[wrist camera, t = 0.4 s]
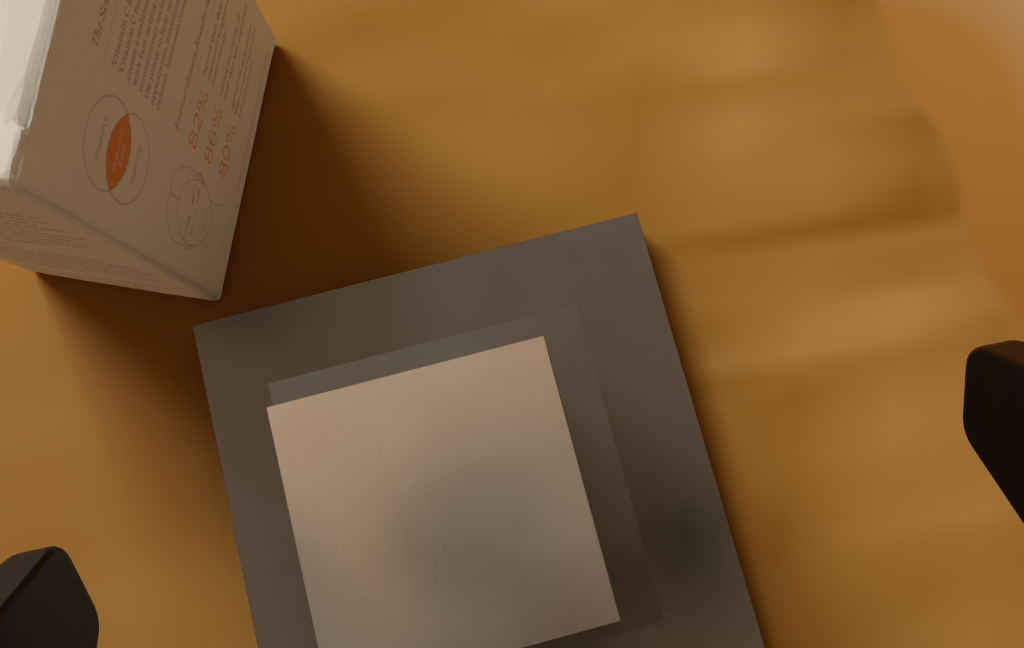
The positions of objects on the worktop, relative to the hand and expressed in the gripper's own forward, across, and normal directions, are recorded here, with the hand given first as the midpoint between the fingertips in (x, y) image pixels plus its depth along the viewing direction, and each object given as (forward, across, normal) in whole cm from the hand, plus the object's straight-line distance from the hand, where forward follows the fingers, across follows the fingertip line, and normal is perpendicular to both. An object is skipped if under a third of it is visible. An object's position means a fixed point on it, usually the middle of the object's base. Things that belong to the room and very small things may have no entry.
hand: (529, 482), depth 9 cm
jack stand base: (+12, +1, +9) cm, 15 cm away
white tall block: (+11, +1, +8) cm, 14 cm away
